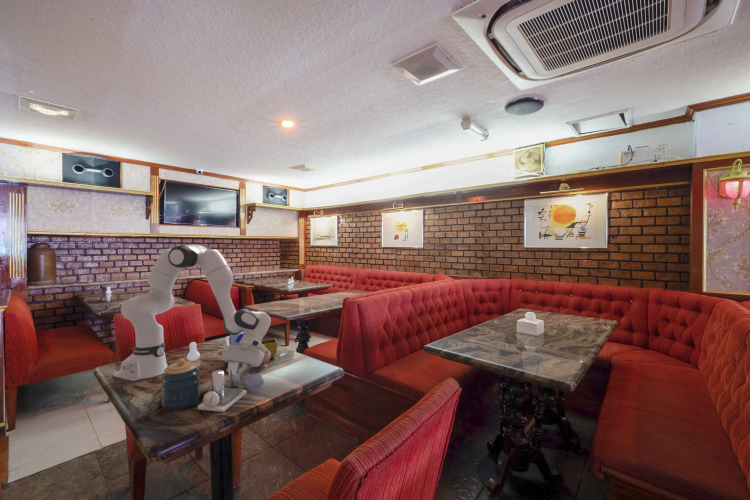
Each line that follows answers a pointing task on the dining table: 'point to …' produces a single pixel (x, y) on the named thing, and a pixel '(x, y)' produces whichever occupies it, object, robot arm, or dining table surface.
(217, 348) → the dining table surface
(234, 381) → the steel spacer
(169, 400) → the canister
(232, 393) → the grey square plate
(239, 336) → the beer can
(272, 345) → the flower pot
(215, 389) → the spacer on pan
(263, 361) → the decorative fruit
